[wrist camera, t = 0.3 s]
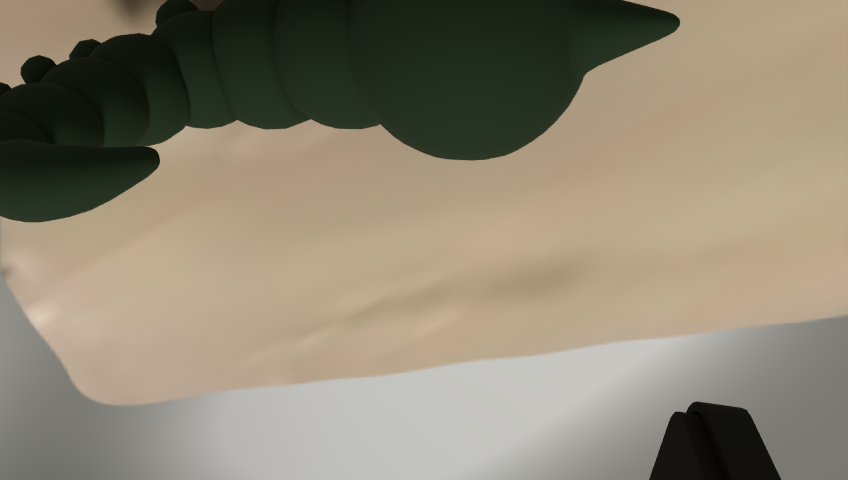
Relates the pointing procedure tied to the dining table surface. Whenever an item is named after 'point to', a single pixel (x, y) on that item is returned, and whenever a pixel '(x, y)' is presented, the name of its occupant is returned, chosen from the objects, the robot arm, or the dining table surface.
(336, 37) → the toy figurine
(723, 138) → the dining table surface
